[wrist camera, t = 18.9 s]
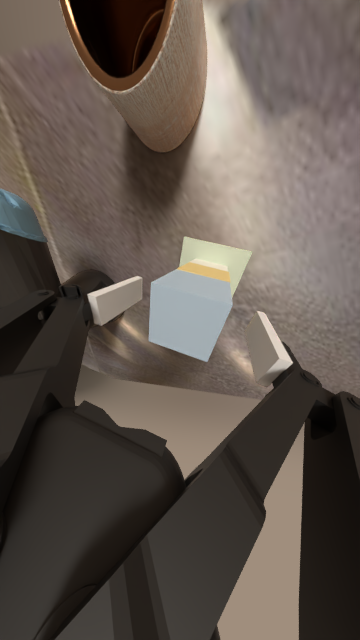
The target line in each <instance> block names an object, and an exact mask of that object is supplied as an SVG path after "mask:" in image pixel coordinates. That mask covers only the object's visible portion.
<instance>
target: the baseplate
mask: <svg viewBox="0 0 360 640" xmlns="http://www.w3.org/2000/svg"><path fill="white" fill-rule="evenodd" d="M251 254H252V251H247V250H243V249H238V248H234V247H229V246H225V245H220V244H216V243H211V242H207V241H202V240H198V239H193V238H189V237H184V241H183V247H182V253H181V259H180V265H179V267H181V266H183V265H185V264H187V263H189V262H191V263H195V264H199V265H203V266H207V267H211V268H215V269H219V270H223V271H227V272H229V275H230V282H231V283H230V287H231V295H232V296H233V294H234V292H235V290H236V287H237V285H238V283H239V281H240V278H241V276H242V274H243V272H244V269H245V267H246V265H247V263H248V260H249V258H250V256H251Z"/></svg>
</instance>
